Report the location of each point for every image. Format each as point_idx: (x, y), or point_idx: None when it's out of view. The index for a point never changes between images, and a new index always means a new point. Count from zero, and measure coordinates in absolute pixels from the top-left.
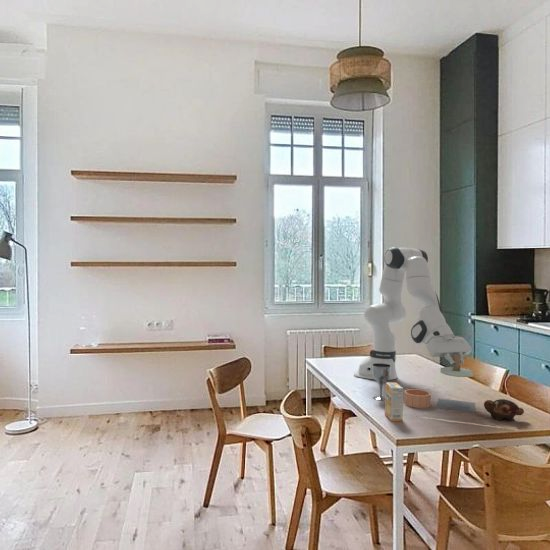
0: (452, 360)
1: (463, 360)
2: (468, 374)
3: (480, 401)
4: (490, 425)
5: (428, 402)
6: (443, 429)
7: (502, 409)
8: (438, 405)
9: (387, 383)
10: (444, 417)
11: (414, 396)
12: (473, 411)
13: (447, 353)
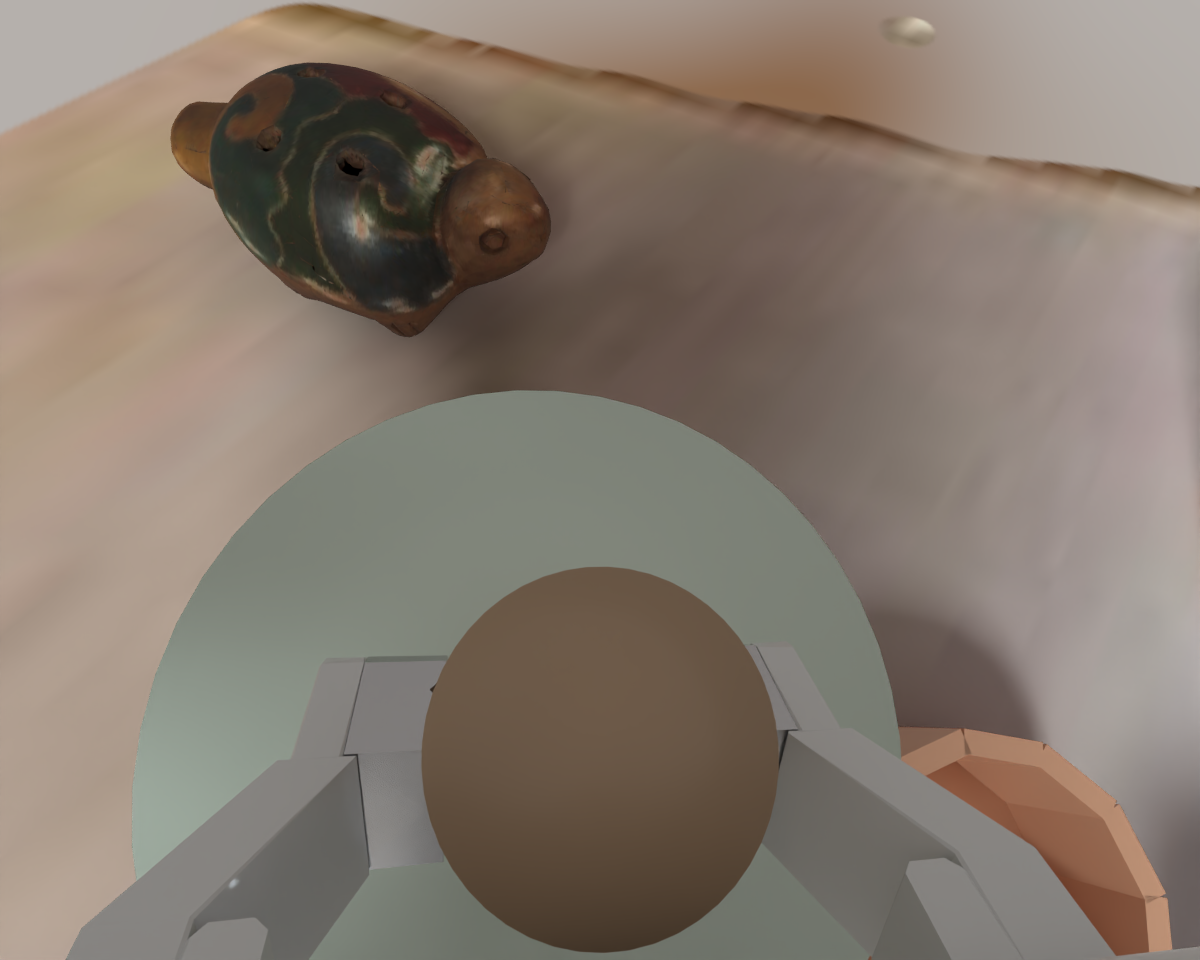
0: (806, 676)
1: (327, 678)
2: (510, 396)
3: (11, 845)
4: (593, 203)
5: None
6: (982, 256)
7: (455, 118)
8: None
9: None
10: (836, 460)
11: (1089, 784)
12: None
13: (1070, 957)
